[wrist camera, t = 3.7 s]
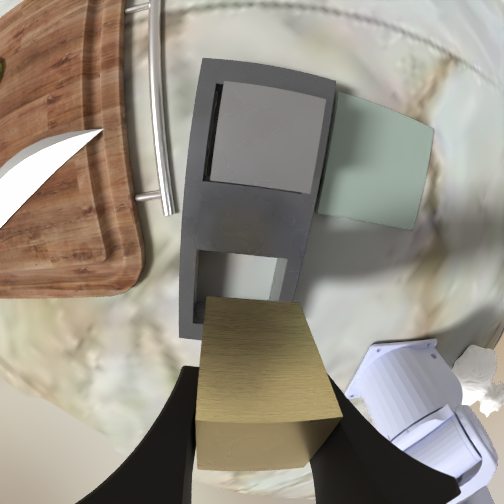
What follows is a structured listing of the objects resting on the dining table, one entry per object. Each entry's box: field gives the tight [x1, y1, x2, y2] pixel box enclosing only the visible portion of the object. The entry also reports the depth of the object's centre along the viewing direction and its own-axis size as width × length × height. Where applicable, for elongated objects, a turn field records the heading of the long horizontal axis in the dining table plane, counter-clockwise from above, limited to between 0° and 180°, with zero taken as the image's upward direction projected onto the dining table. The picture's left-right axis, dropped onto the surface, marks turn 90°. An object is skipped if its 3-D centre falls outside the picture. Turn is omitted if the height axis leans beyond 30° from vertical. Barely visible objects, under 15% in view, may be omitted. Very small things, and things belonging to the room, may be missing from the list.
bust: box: [451, 345, 504, 417], centre depth 23 cm, size 12×8×11 cm
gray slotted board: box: [179, 58, 336, 340], centre depth 16 cm, size 7×17×2 cm, turn 172°
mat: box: [316, 92, 434, 231], centre depth 16 cm, size 8×8×1 cm
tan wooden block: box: [195, 296, 343, 471], centre depth 10 cm, size 4×4×6 cm
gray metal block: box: [210, 81, 326, 194], centre depth 12 cm, size 4×4×6 cm
